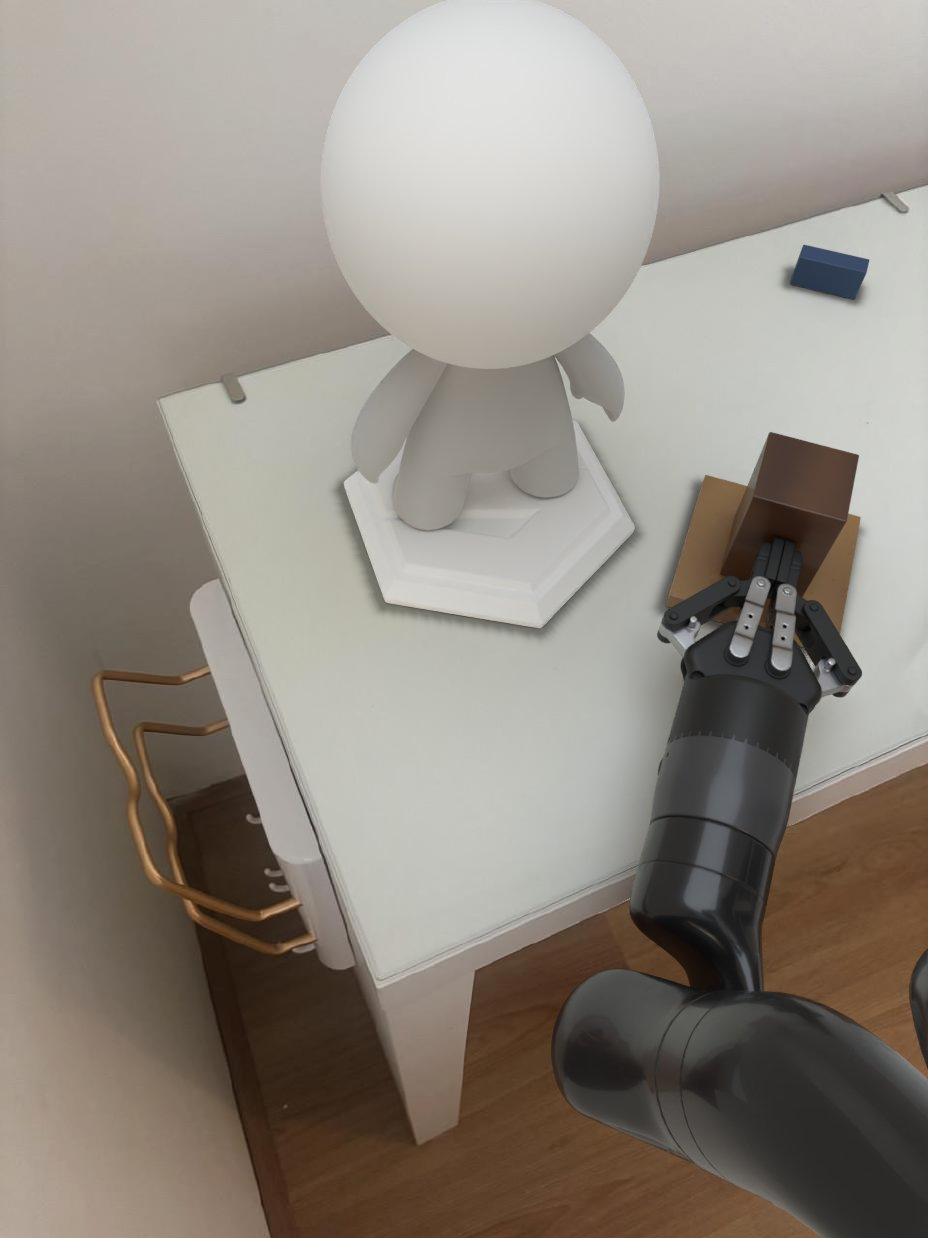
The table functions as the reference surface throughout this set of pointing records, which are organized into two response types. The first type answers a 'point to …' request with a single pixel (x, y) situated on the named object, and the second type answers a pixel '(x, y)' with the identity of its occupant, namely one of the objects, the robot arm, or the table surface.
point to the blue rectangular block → (829, 271)
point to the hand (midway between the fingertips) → (780, 546)
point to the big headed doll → (488, 297)
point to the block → (776, 524)
